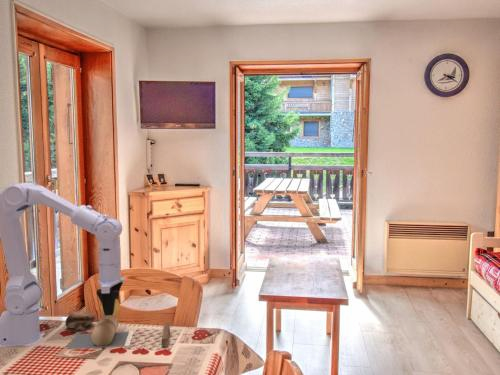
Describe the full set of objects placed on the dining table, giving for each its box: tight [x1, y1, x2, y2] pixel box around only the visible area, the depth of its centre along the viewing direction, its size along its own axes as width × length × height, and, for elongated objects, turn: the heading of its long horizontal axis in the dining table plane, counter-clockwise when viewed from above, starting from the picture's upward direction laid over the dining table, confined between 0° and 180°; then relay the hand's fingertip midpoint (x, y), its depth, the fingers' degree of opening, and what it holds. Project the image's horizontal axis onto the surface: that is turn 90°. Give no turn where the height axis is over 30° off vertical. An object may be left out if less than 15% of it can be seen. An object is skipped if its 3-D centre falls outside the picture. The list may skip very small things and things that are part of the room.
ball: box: [100, 299, 121, 316], centre depth 125 cm, size 5×5×5 cm
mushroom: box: [65, 310, 96, 332], centre depth 134 cm, size 8×8×6 cm
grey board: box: [66, 330, 134, 350], centre depth 125 cm, size 16×10×1 cm, turn 98°
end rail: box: [161, 322, 171, 349], centre depth 128 cm, size 2×12×2 cm, turn 8°
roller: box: [91, 314, 119, 346], centre depth 125 cm, size 6×9×6 cm, turn 8°
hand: (110, 311), depth 125 cm, fingers closed on ball, 5 cm apart
